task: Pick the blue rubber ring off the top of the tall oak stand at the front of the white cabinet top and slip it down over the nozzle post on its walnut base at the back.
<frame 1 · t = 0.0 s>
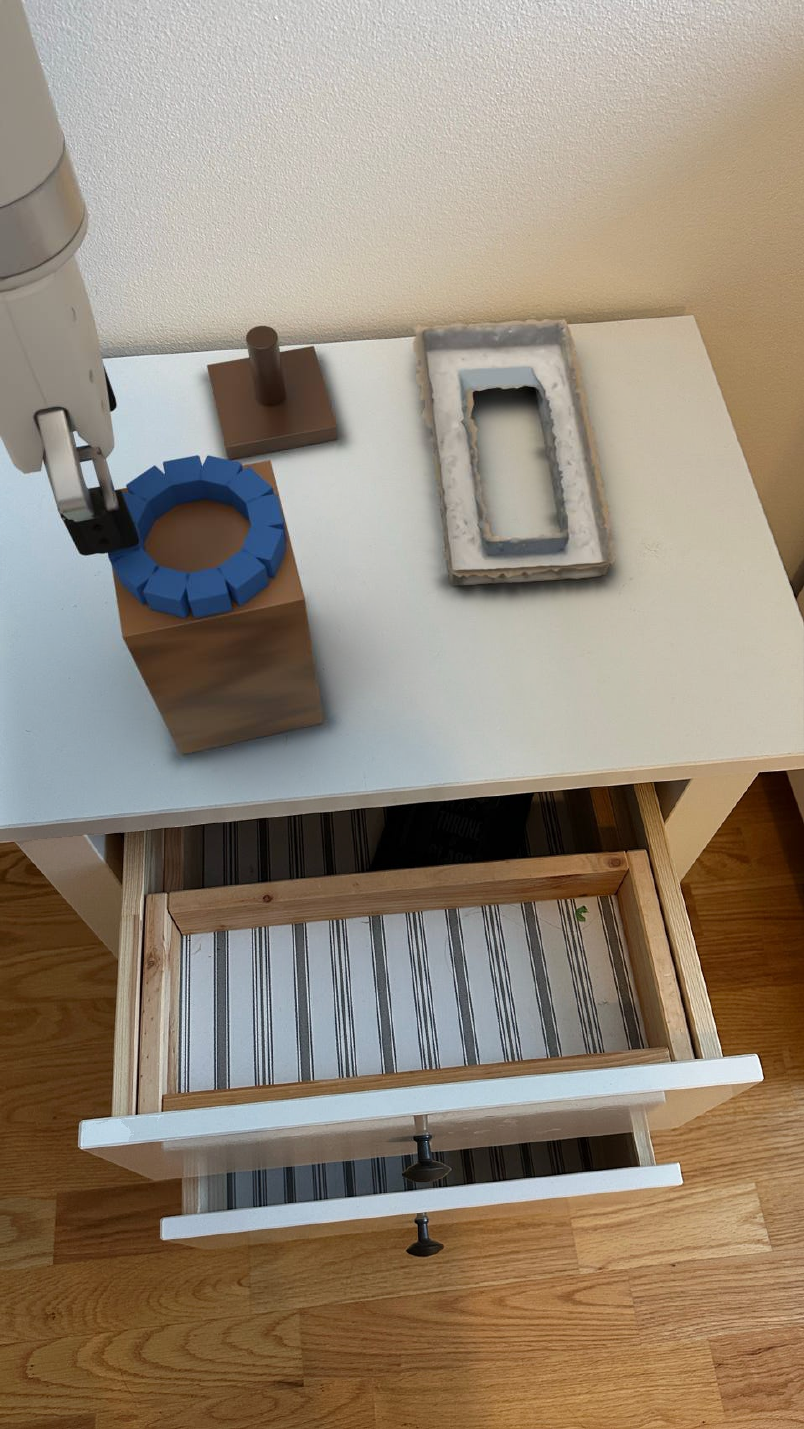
hand: (99, 476, 54), 18 cm above the table, tool pointing down, fingers open, 9 cm apart
picture frame: (506, 464, 78), on the table
ring: (199, 544, 55), point 16 cm above the table, touching stand
stand: (240, 677, 69), on the table
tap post: (272, 408, 80), on the table
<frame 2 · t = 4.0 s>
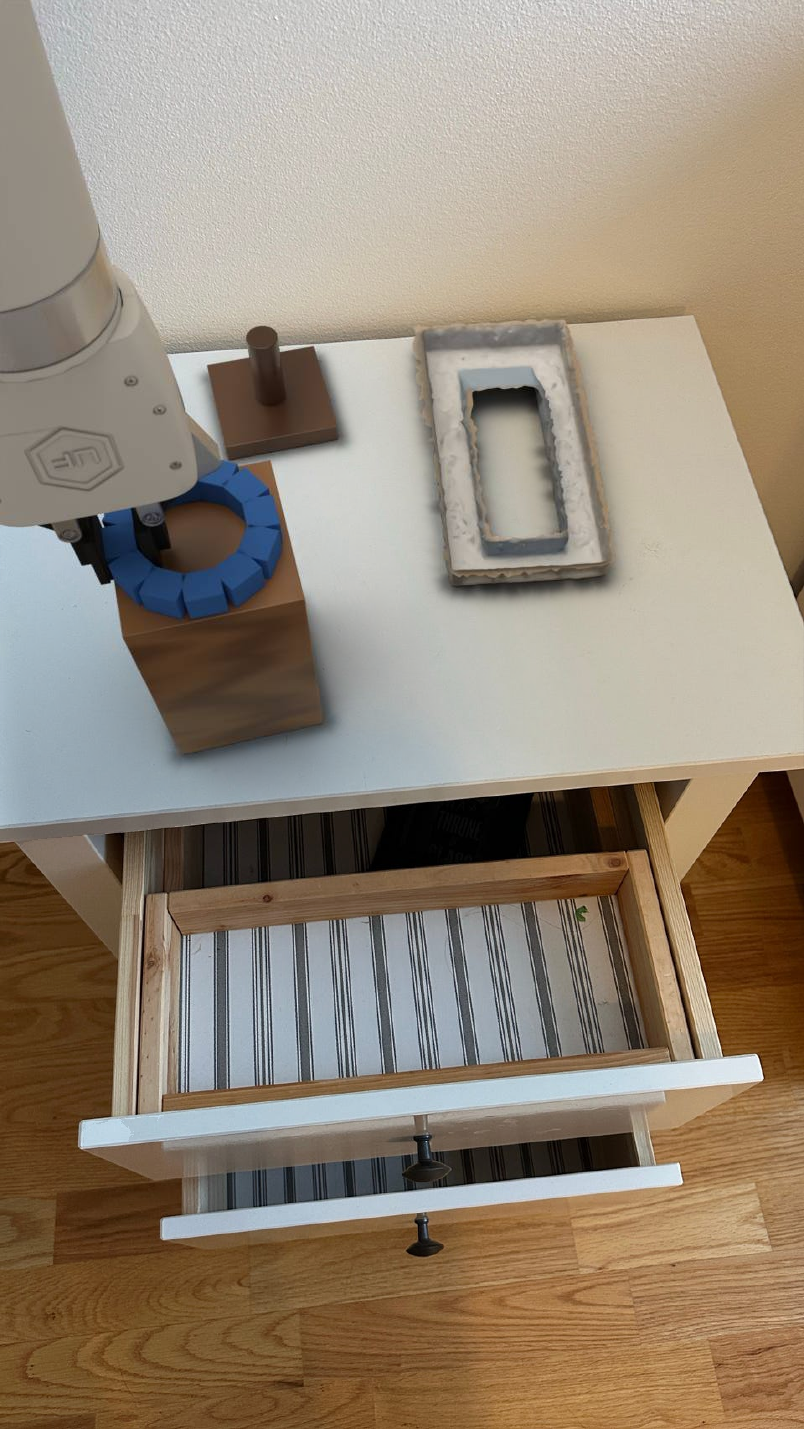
hand: (129, 556, 54), 16 cm above the table, tool pointing down, fingers closed on ring, 2 cm apart
ring: (195, 545, 55), point 16 cm above the table, touching gripper
everything else where it was.
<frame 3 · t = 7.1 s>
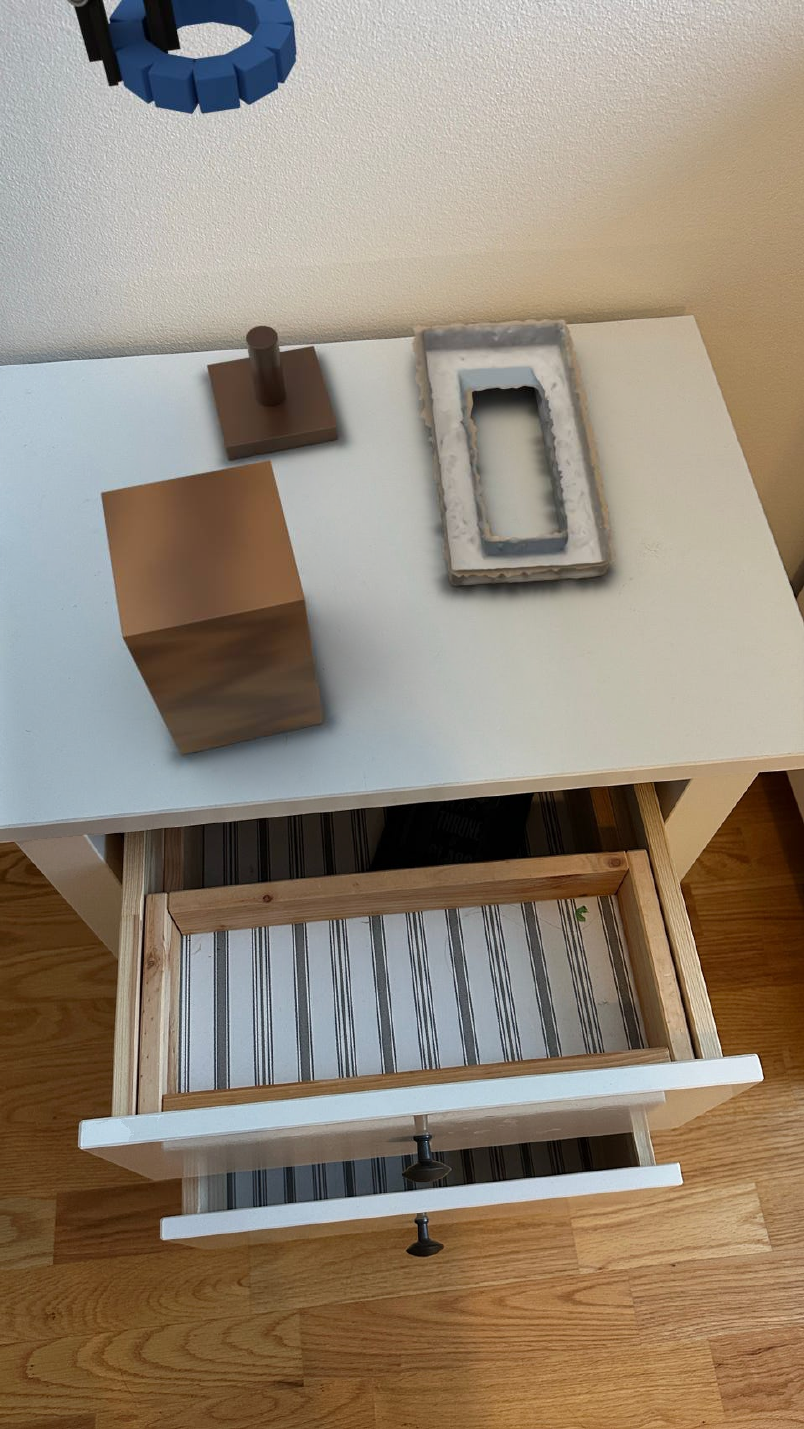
hand: (137, 64, 53), 29 cm above the table, tool pointing down, fingers closed on ring
ring: (206, 57, 53), point 29 cm above the table, touching gripper
everything else where it was.
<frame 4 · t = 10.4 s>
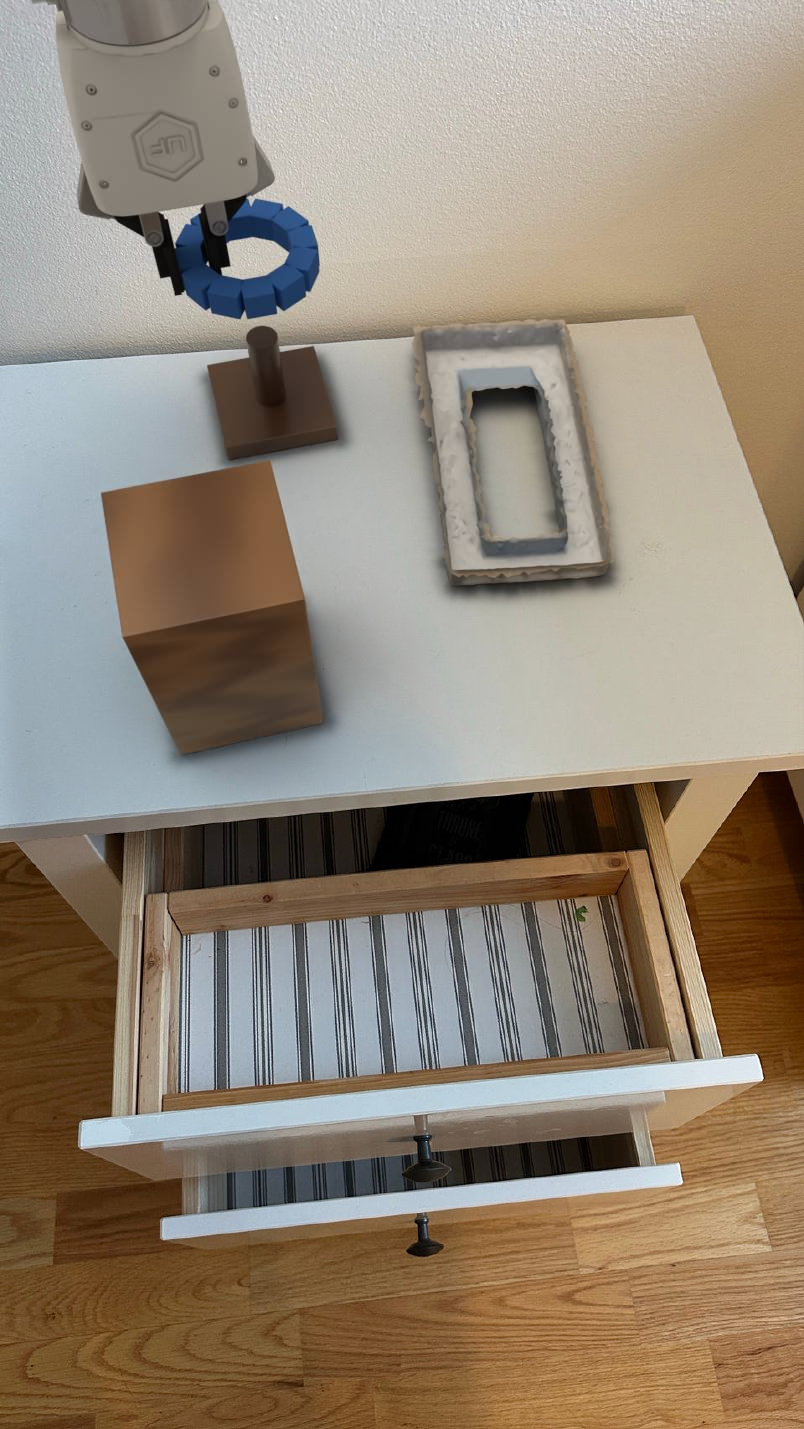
hand: (196, 276, 68), 14 cm above the table, tool pointing down, fingers closed on ring, 2 cm apart
ring: (249, 268, 68), point 14 cm above the table, touching gripper
everything else where it was.
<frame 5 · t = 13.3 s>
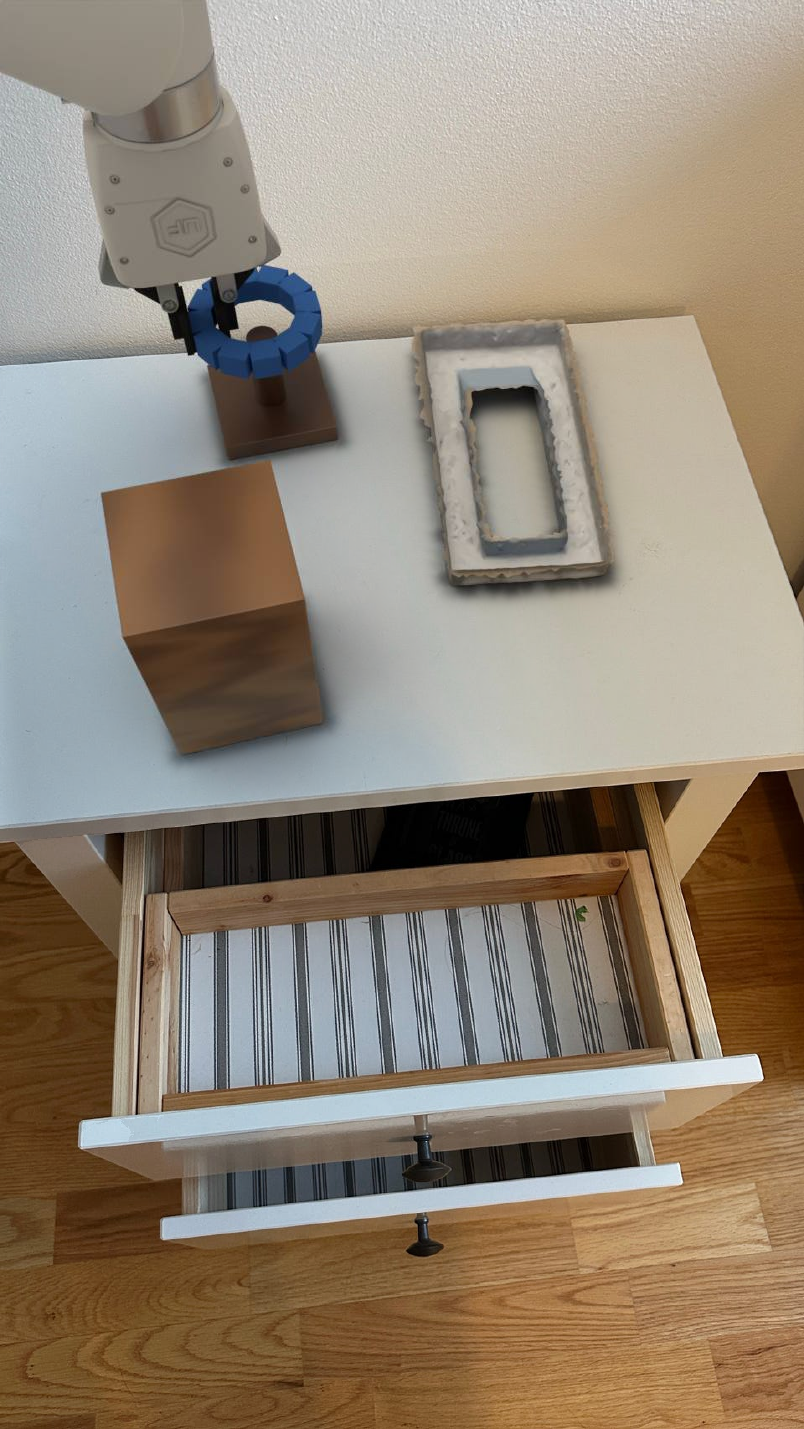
hand: (207, 337, 72), 8 cm above the table, tool pointing down, fingers closed on ring, 2 cm apart
ring: (256, 330, 73), point 8 cm above the table, touching gripper
everything else where it was.
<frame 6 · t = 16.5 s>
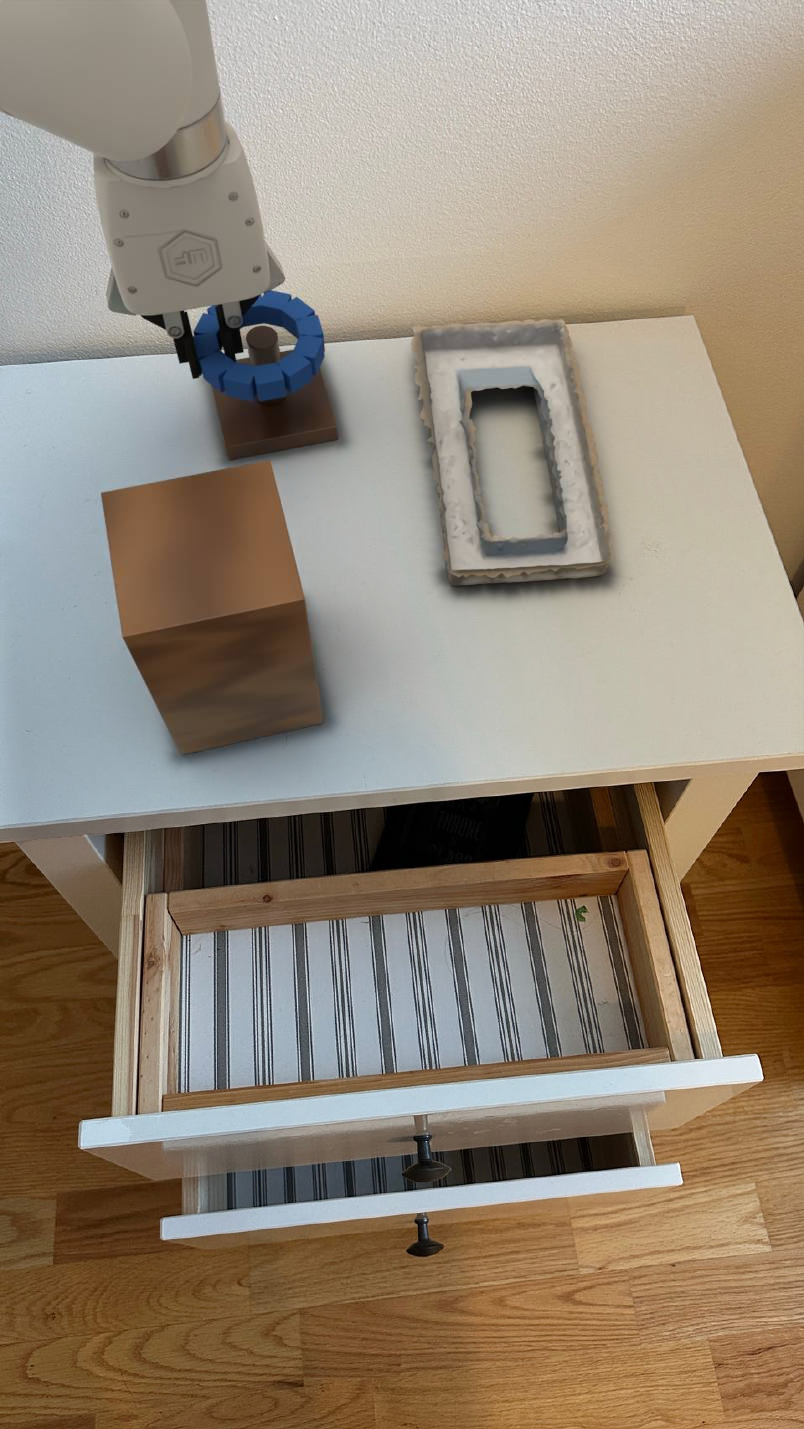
hand: (212, 360, 74), 6 cm above the table, tool pointing down, fingers closed on ring, 2 cm apart
ring: (260, 353, 75), point 6 cm above the table, touching gripper
everything else where it was.
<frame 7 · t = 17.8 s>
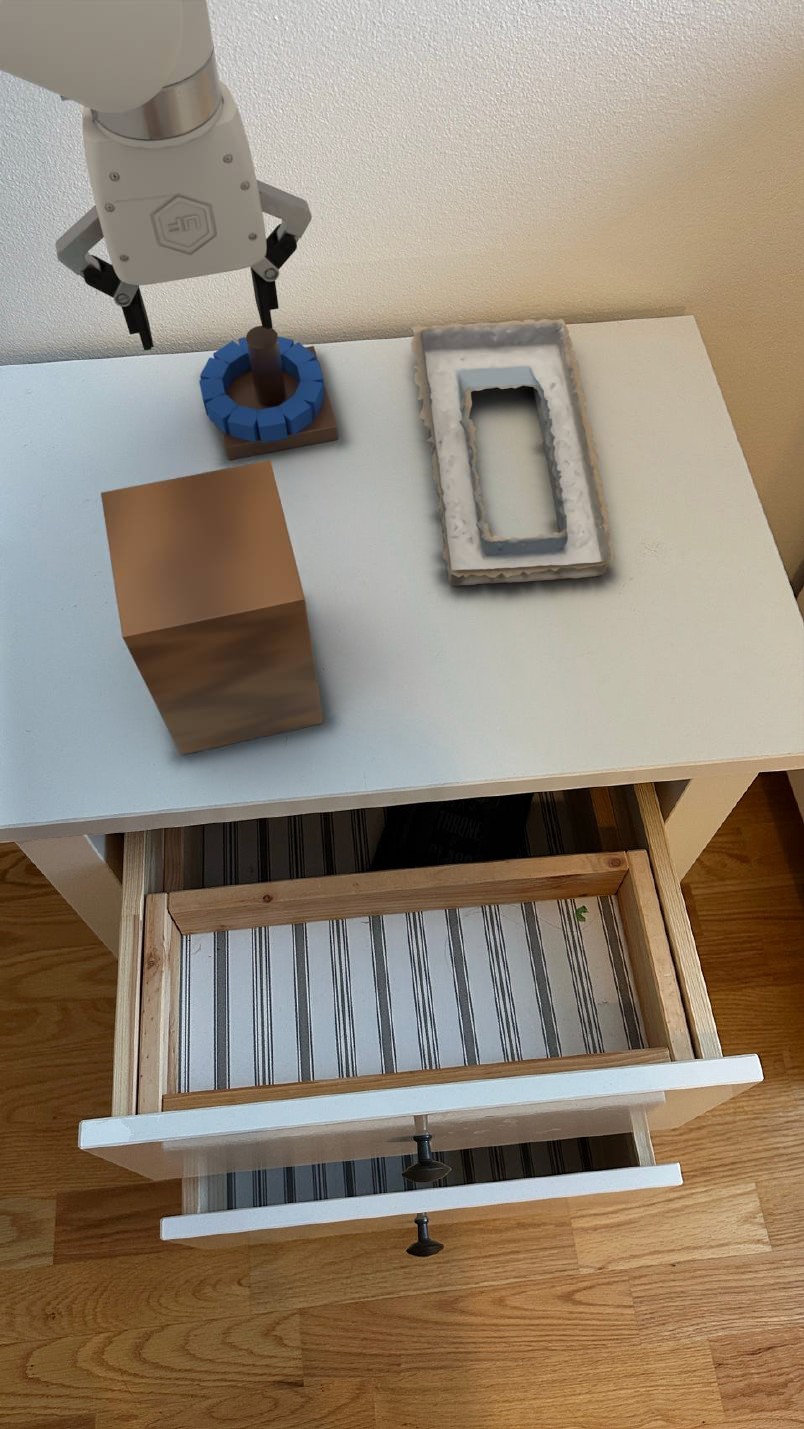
hand: (205, 325, 71), 9 cm above the table, tool pointing down, fingers open, 8 cm apart
ring: (264, 395, 79), point 1 cm above the table, touching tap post
everything else where it was.
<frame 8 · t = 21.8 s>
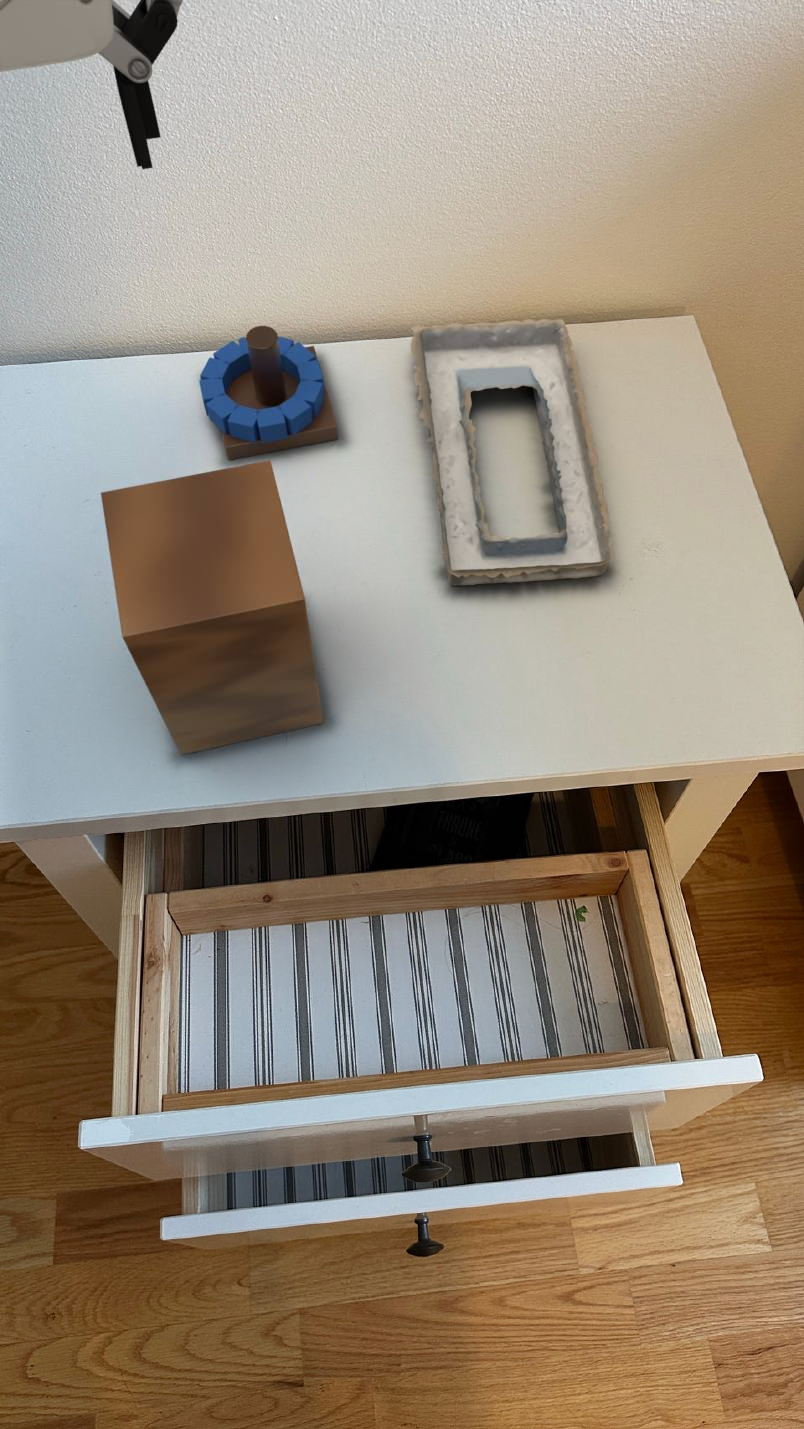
hand: (42, 166, 47), 30 cm above the table, tool pointing down, fingers open, 9 cm apart
nothing on the table moved.
at the end: ring 0.6 cm from the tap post (horizontally); ring point 1.5 cm above the table; the gripper is holding nothing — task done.
